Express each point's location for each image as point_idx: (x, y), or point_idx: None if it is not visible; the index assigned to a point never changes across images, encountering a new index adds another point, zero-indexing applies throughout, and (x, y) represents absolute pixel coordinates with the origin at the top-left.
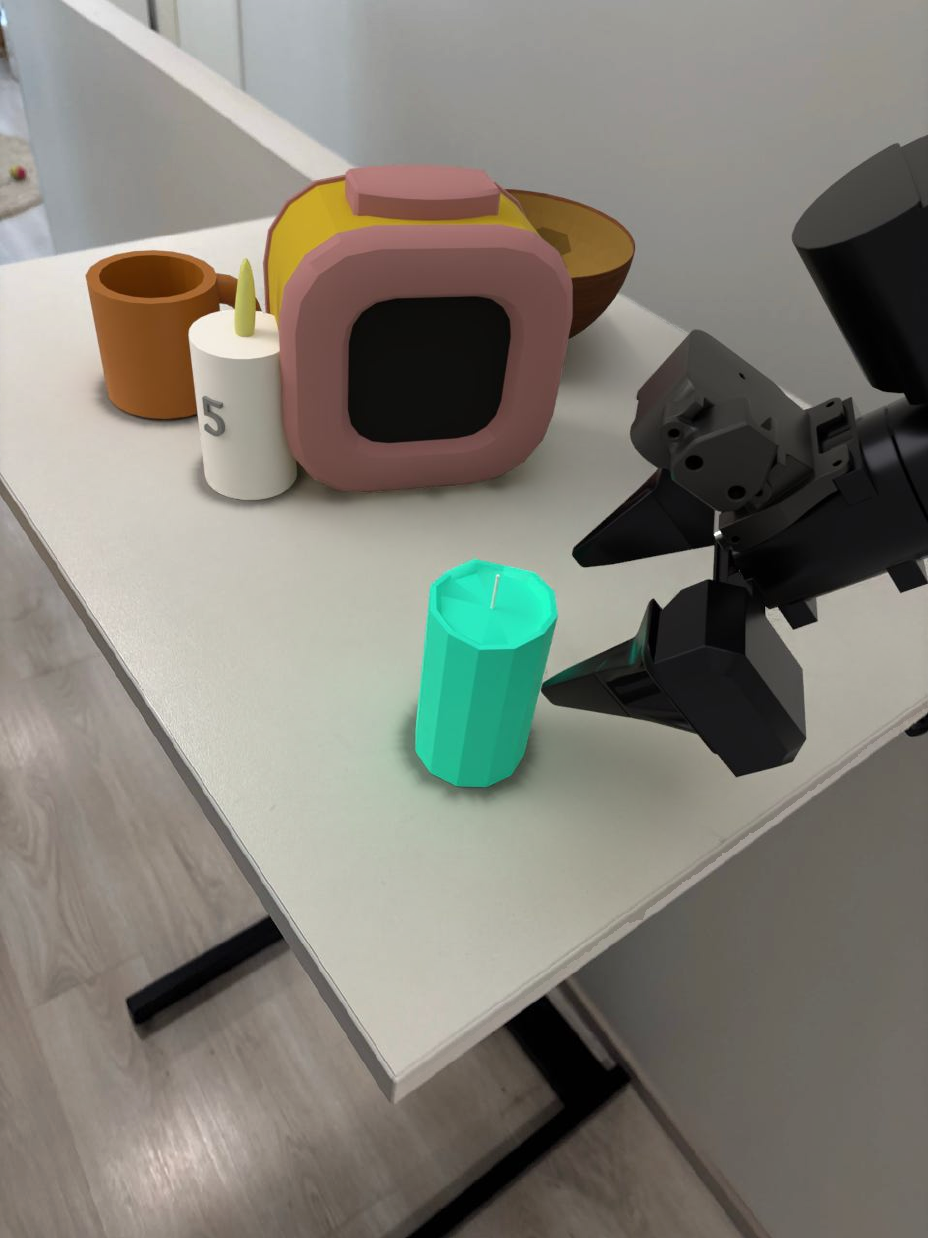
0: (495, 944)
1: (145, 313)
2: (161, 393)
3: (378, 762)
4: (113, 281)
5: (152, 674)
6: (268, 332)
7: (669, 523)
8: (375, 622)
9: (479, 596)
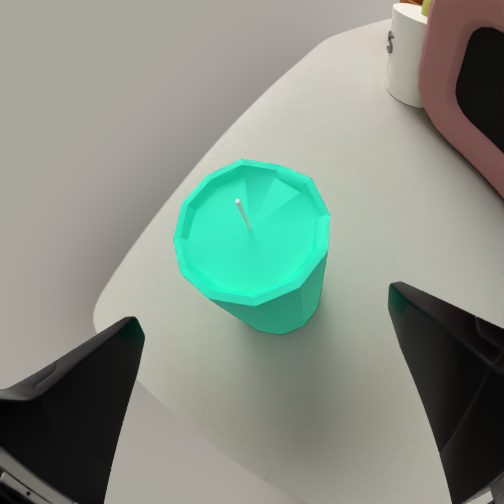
0: (142, 352)
1: None
2: None
3: None
4: (421, 3)
5: (247, 118)
6: None
7: (457, 416)
8: (352, 188)
9: (261, 209)
